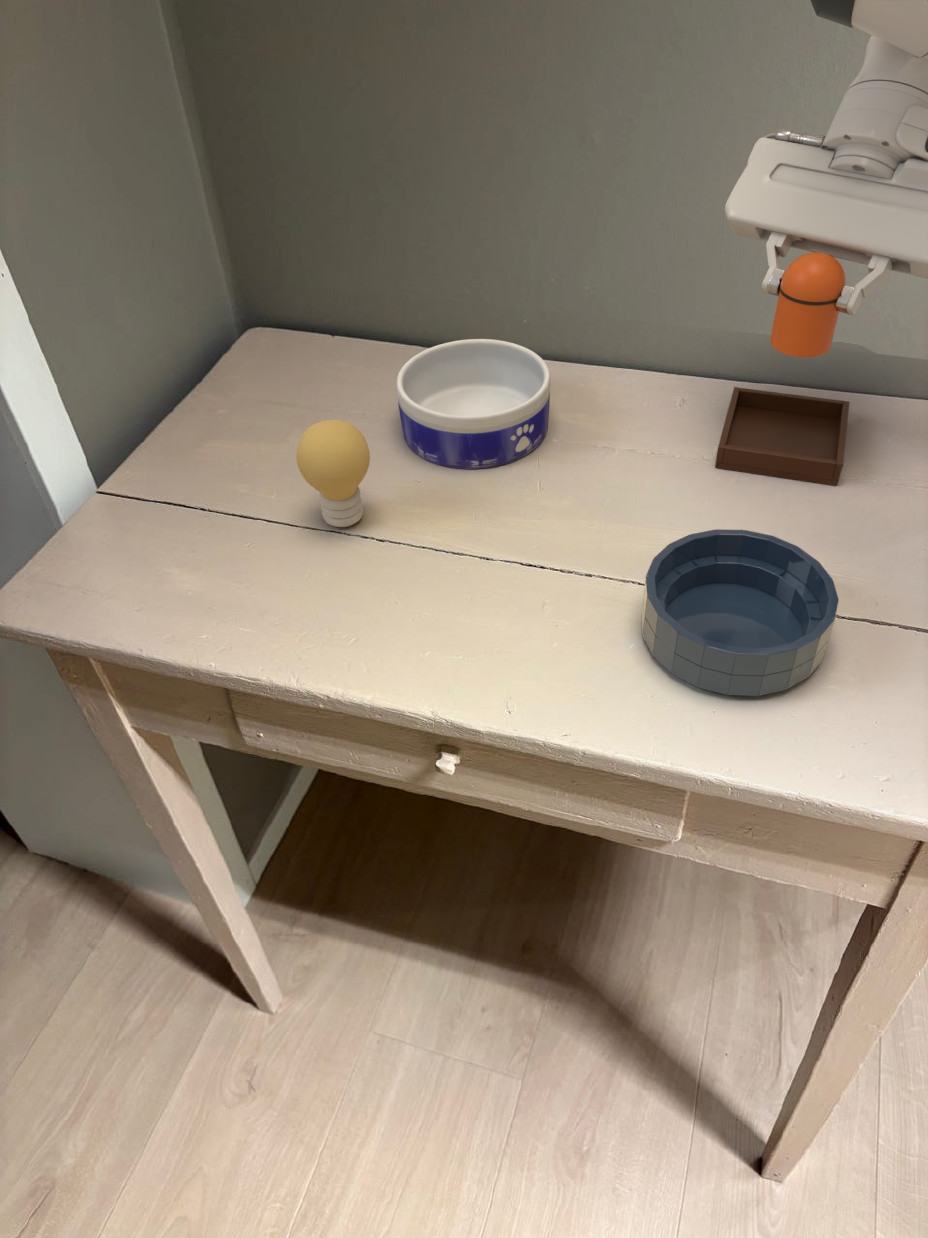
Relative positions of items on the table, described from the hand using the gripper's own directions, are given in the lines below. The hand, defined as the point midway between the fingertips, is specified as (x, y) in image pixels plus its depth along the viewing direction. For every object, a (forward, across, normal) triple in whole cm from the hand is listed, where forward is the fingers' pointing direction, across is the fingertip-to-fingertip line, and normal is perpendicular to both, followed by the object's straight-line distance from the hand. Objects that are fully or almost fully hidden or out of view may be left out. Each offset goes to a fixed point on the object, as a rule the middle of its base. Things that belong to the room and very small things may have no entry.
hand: (807, 301), depth 82 cm
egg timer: (+2, 0, +3) cm, 4 cm away
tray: (+10, 0, +12) cm, 16 cm away
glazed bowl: (+28, +8, -6) cm, 30 cm away
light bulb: (+33, -28, -11) cm, 45 cm away
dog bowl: (+20, -27, +3) cm, 34 cm away
